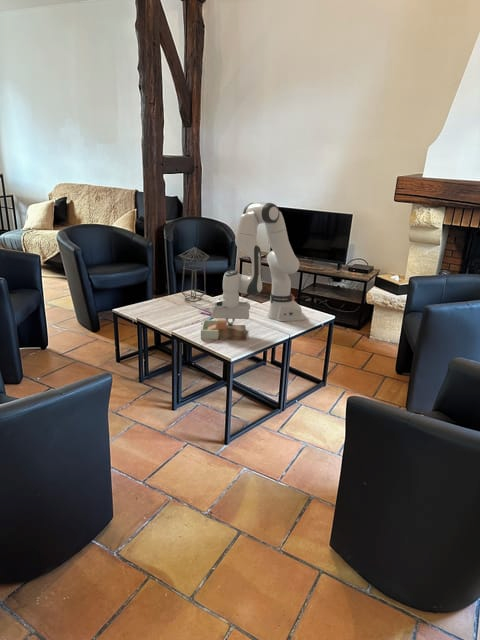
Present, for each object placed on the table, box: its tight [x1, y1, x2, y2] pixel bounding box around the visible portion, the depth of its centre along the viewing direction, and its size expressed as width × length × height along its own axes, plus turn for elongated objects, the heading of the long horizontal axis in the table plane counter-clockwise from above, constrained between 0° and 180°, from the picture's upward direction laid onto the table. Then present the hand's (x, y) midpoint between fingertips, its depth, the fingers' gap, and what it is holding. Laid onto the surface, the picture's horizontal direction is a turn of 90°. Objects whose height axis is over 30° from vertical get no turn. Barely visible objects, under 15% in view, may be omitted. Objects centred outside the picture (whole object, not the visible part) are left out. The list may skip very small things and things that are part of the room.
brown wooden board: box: [218, 324, 247, 341], centre depth 236 cm, size 14×16×2 cm
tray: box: [200, 319, 219, 341], centre depth 236 cm, size 9×16×5 cm, turn 0°
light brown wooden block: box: [216, 318, 228, 330], centre depth 238 cm, size 5×5×4 cm
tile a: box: [207, 324, 219, 334], centre depth 232 cm, size 5×5×4 cm
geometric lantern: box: [178, 246, 211, 303], centre depth 288 cm, size 16×16×35 cm
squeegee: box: [199, 311, 213, 325], centre depth 264 cm, size 29×2×10 cm
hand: (230, 326), depth 238 cm, fingers closed
